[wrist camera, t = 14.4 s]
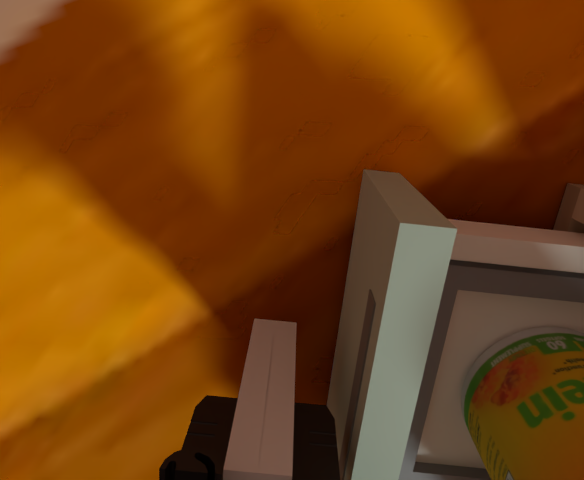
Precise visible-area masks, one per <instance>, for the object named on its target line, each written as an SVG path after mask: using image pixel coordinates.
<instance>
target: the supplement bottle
mask: <svg viewBox="0 0 584 480" xmlns="http://www.w3.org/2000/svg"><path fill="white" fill-rule="evenodd" d="M461 409H462V415H463V418H464V421H465V424H466V426H467V428H468V431H469V433H470V436H471V438H472V440H473V442H474V444H475V446H476V449H477V451H478V453H479V455H480V457H481V459H482V461H483V463H484V465H485V468H486V470H487V472H488V474H489V476H490V478H491V480H584V333H582V332H579V331H576V330H572V329H568V328H561V327H538V328H532V329H528V330H524V331H520V332H517V333H515V334H512V335H510V336H508V337H506V338H504V339H502V340H500V341H498V342H497V343H495V344H494V345H492V346H491V347H490V348H488V349H487V350H486V351H485V352H484V353H483V354H482V355H481V356H479V358H478V359H477V360H476V361H475V362H474V364H473V365H472V367H471V368H470V370H469V371H468V373H467V375H466V378H465V380H464V383H463V387H462V392H461Z"/></svg>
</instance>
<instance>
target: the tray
mask: <svg viewBox="0 0 584 480" xmlns="http://www.w3.org/2000/svg"><path fill="white" fill-rule="evenodd" d="M538 327H561V328H568V329H572V330H576V331H579V332H582V333H584V233H576V232H567V231H557V230H548V229H538V228H529V227H519V226H510V225H501V224H491V223H482V222H472V221H463V220H453V219H447V218H446V217H445V216H444V215H443V214H441V213H440V212H439V211H438V210H437V209H436V208H435V207H434V206H433V205H432V204H431V203H430V202H429V201H428V200H427V199H426V198H425V197H424V196H423V195H422V194H421V193H420V192H419V191H418V190H417V189H416V188H415V187H413V186H412V185H411V184H410V183H409V182H408V181H407V180H406V179H405V178H404V177H403V176H402V175H401V174H400V173H394V172H385V171H376V170H366V169H364V170H363V176H362V182H361V189H360V195H359V202H358V208H357V214H356V221H355V227H354V233H353V240H352V246H351V253H350V259H349V265H348V272H347V278H346V285H345V291H344V297H343V304H342V310H341V317H340V323H339V329H338V336H337V342H336V349H335V355H334V361H333V368H332V374H331V381H330V387H329V393H328V400H327V407H328V409H329V410H330V412H331V414H332V415H333V417H334V418H335V427H336V438H337V449H338V460H339V471H340V480H491V478H490V476H489V474H488V472H487V470H486V468H485V465H484V463H483V461H482V459H481V457H480V455H479V453H478V451H477V449H476V446H475V444H474V442H473V440H472V438H471V436H470V433H469V431H468V428H467V426H466V424H465V421H464V418H463V415H462V409H461V392H462V387H463V383H464V380H465V378H466V375H467V373H468V371H469V370H470V368H471V367H472V365H473V364H474V362H475V361H476V360H477V359H478V358H479V356H481V355H482V354H483V353H484V352H485V351H486V350H487V349H488V348H490V347H491V346H492V345H494V344H495V343H497V342H498V341H500V340H502V339H504V338H506V337H508V336H510V335H512V334H515V333H517V332H520V331H524V330H528V329H532V328H538Z"/></svg>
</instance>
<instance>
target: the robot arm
mask: <svg viewBox="0 0 584 480" xmlns="http://www.w3.org/2000/svg"><path fill="white" fill-rule="evenodd" d="M296 327H297V323H296V322H286V321H276V320H266V319H255V318H254V322H253V327H252V332H251V337H250V342H249V347H248V352H247V357H246V361H245V366H244V371H243V376H242V381H241V386H240V391H239V396H238V398H229V397H218V396H208V395H207V396H206V397H205V398H204V399H203V400H202V401H201V402H200V403H199V404H198V405H197V406H196V407H195V410H194V413H193V416H192V419H191V423H190V425H189V428H188V431H187V435H186V437H185V440H184V443H183V447H182V450H180V451H177V452H174V453H173V454H172V455H170V456H169V457H168V458H166V459H165V460H164V462H163V464H162V465H161V467H160V468H159V480H340V471H339V460H338V449H337V438H336V427H335V418H334V417H333V415H332V414H331V412H330V410H329V409H328V407H327V406H325V405H314V404H304V403H294V398H295V362H296Z"/></svg>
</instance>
